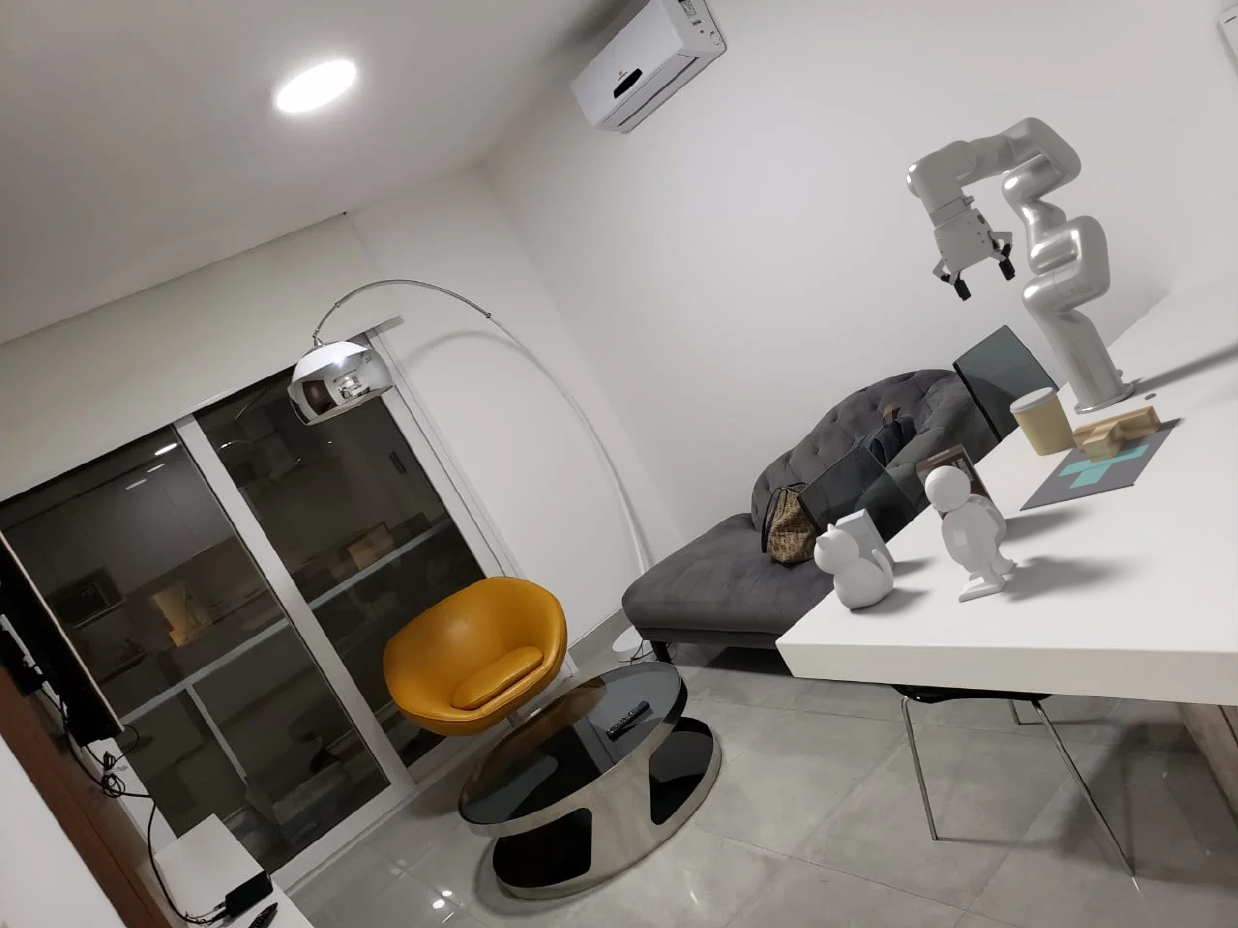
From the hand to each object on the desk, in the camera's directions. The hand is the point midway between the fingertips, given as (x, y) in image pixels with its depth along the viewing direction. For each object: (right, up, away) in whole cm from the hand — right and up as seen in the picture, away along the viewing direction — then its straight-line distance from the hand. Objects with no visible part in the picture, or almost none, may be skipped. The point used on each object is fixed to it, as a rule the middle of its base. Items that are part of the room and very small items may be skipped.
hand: (989, 289), depth 179 cm
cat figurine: (-30, -60, -21) cm, 70 cm away
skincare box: (-25, -56, -9) cm, 62 cm away
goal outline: (+11, -37, -19) cm, 43 cm away
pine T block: (+18, -32, -13) cm, 39 cm away
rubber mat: (+13, -36, -18) cm, 42 cm away
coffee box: (-9, -48, -19) cm, 53 cm away
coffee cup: (+16, -32, +5) cm, 36 cm away
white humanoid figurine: (-16, -54, -40) cm, 69 cm away
